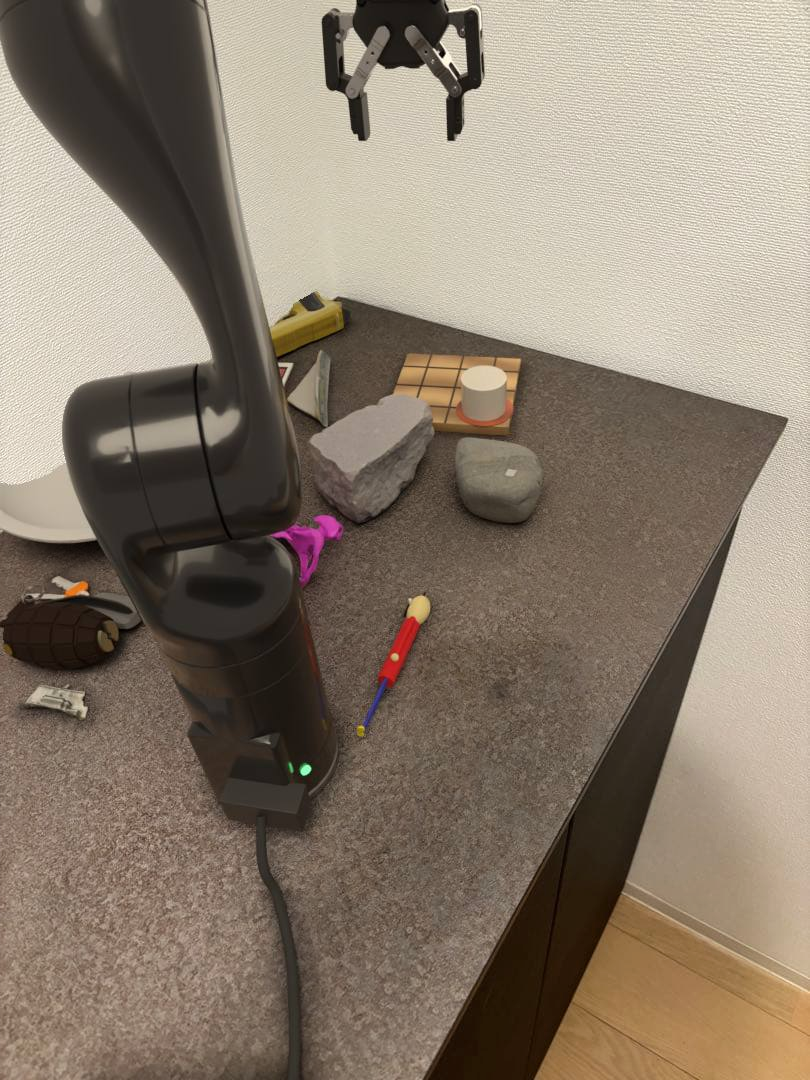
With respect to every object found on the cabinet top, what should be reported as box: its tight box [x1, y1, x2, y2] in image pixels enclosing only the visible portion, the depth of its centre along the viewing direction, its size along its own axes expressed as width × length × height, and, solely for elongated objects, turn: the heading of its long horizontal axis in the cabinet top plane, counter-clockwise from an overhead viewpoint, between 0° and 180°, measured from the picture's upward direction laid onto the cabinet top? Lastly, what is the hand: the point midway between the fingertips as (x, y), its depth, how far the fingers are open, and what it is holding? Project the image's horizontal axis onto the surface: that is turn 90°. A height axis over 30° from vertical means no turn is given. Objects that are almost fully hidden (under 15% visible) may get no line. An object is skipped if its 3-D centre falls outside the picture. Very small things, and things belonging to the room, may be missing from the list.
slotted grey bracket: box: [16, 683, 88, 721], centre depth 64 cm, size 6×2×3 cm
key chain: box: [21, 575, 142, 630], centre depth 72 cm, size 13×4×2 cm, turn 65°
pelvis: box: [270, 514, 344, 590], centre depth 71 cm, size 12×10×7 cm
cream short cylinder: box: [461, 366, 507, 421], centre depth 87 cm, size 5×5×4 cm
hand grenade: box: [0, 583, 133, 670], centre depth 67 cm, size 6×7×11 cm
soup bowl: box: [0, 370, 138, 544], centre depth 82 cm, size 24×24×7 cm
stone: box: [454, 436, 544, 524], centre depth 78 cm, size 9×9×10 cm
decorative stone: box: [307, 393, 436, 524], centre depth 81 cm, size 15×7×10 cm
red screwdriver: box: [356, 591, 431, 738], centre depth 65 cm, size 3×2×15 cm
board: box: [392, 352, 522, 437], centre depth 93 cm, size 14×14×1 cm
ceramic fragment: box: [286, 349, 332, 428], centre depth 94 cm, size 14×5×4 cm, turn 1°
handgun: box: [269, 290, 352, 358], centre depth 105 cm, size 2×19×12 cm
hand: (408, 138), depth 75 cm, fingers open, 8 cm apart
